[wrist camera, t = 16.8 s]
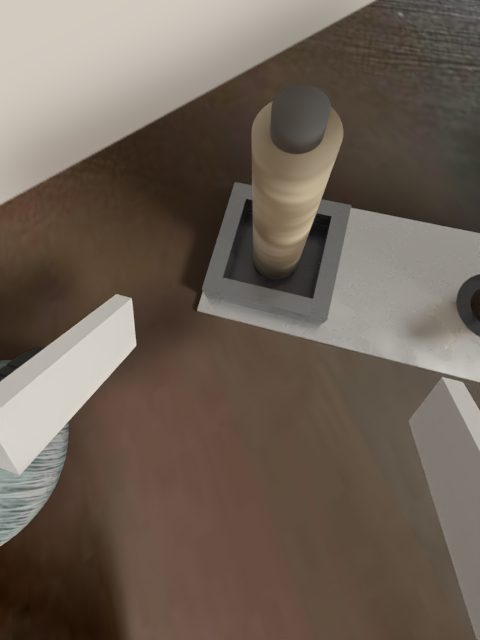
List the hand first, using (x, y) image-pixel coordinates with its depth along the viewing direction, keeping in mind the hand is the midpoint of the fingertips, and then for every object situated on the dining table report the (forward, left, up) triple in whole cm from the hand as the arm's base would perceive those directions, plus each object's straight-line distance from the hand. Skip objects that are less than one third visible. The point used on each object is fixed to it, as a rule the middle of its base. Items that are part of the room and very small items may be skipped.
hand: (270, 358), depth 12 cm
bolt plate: (-9, -11, -14) cm, 20 cm away
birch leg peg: (+1, -11, -13) cm, 17 cm away
